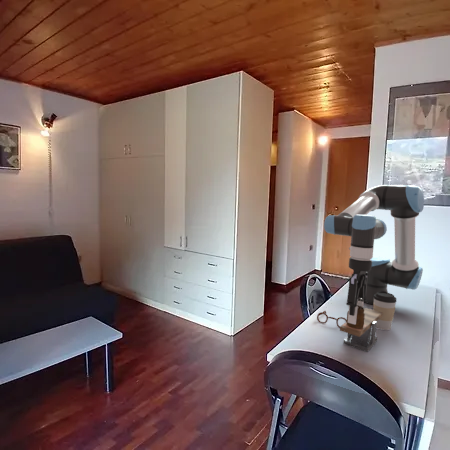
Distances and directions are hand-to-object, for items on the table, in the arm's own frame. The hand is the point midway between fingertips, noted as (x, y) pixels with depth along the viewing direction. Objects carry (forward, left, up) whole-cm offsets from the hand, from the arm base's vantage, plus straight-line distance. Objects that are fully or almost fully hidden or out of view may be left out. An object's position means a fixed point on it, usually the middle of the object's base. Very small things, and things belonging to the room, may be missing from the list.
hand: (354, 320), depth 119 cm
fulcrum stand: (-9, 0, -12) cm, 15 cm away
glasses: (-22, -15, -12) cm, 30 cm away
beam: (-9, 0, -4) cm, 10 cm away
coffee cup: (-31, +2, -12) cm, 34 cm away
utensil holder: (0, 0, -2) cm, 2 cm away
